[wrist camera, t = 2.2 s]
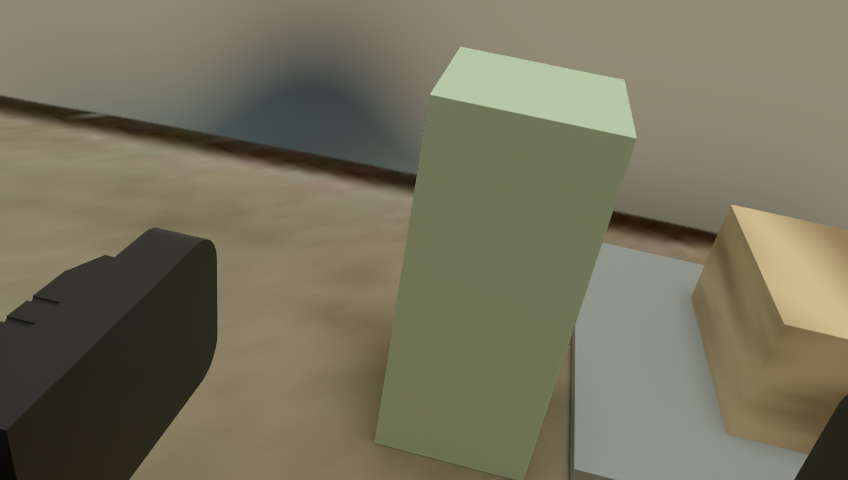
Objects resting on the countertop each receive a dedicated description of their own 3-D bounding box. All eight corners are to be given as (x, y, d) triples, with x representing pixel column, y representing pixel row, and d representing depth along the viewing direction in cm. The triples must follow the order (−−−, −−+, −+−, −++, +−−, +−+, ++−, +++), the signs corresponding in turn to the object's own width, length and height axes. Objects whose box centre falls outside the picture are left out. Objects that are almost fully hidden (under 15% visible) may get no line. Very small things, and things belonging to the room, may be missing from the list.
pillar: (374, 442, 23) (429, 94, 17) (406, 350, 27) (460, 46, 21) (523, 482, 22) (637, 138, 16) (532, 381, 26) (624, 80, 20)
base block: (726, 434, 25) (784, 324, 22) (691, 297, 32) (730, 204, 30) (989, 499, 24) (1080, 393, 21) (887, 342, 31) (946, 251, 29)
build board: (569, 481, 22) (574, 469, 22) (572, 246, 36) (575, 236, 36) (1230, 654, 20) (1245, 643, 20) (968, 336, 34) (974, 327, 34)
